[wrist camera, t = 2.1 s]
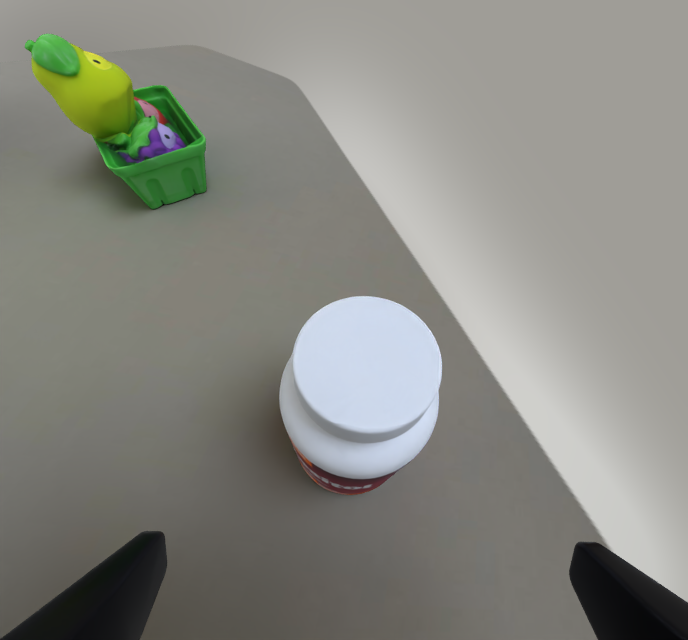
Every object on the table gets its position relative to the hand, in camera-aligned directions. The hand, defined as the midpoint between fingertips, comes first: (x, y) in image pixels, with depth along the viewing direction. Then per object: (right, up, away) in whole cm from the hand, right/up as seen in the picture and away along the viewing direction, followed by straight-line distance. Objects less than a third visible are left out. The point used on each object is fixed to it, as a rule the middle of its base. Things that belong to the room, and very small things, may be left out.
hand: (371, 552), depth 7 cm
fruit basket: (-18, +19, +25) cm, 36 cm away
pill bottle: (0, -2, +12) cm, 13 cm away
